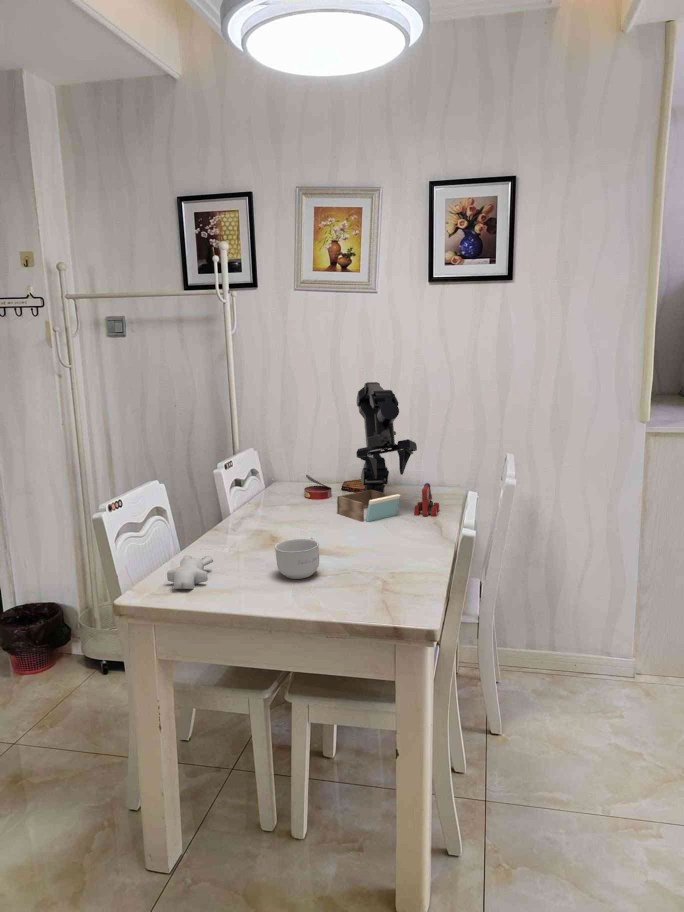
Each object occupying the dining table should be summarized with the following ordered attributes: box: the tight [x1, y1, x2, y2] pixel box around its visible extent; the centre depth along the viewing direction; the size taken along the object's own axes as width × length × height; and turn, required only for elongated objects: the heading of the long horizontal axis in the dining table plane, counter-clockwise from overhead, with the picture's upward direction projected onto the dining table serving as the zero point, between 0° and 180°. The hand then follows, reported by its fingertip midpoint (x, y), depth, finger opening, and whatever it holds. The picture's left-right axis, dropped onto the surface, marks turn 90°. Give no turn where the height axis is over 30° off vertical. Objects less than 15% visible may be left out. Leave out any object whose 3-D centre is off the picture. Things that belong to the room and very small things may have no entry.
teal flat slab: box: [364, 493, 401, 523], centre depth 210 cm, size 1×12×7 cm, turn 129°
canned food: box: [304, 474, 333, 501], centre depth 244 cm, size 11×10×10 cm
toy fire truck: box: [413, 482, 440, 518], centre depth 217 cm, size 7×12×10 cm, turn 165°
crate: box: [336, 490, 392, 523], centre depth 216 cm, size 12×14×7 cm
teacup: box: [274, 536, 320, 580], centre depth 167 cm, size 14×11×8 cm
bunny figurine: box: [166, 555, 214, 590], centre depth 163 cm, size 10×5×15 cm
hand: (388, 476), depth 211 cm, fingers open, 9 cm apart
